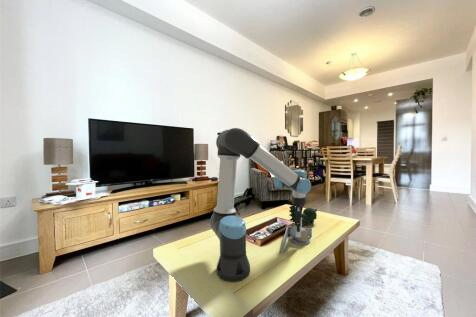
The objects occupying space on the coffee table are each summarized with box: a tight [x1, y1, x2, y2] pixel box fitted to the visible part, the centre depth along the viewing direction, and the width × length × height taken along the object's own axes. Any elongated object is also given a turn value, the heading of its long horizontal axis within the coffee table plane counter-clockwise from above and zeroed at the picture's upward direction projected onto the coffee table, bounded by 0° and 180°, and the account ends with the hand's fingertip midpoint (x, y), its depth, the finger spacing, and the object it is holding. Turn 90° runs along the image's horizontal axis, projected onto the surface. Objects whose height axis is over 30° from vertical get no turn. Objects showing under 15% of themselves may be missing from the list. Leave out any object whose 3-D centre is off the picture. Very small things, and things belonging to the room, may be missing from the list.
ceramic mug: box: [289, 224, 311, 242], centre depth 120 cm, size 11×8×8 cm
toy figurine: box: [288, 202, 318, 228], centre depth 145 cm, size 9×19×25 cm
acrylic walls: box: [281, 225, 313, 255], centre depth 115 cm, size 26×15×5 cm, turn 161°
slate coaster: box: [288, 235, 311, 246], centre depth 120 cm, size 12×12×1 cm
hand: (298, 232), depth 120 cm, fingers open, 13 cm apart
